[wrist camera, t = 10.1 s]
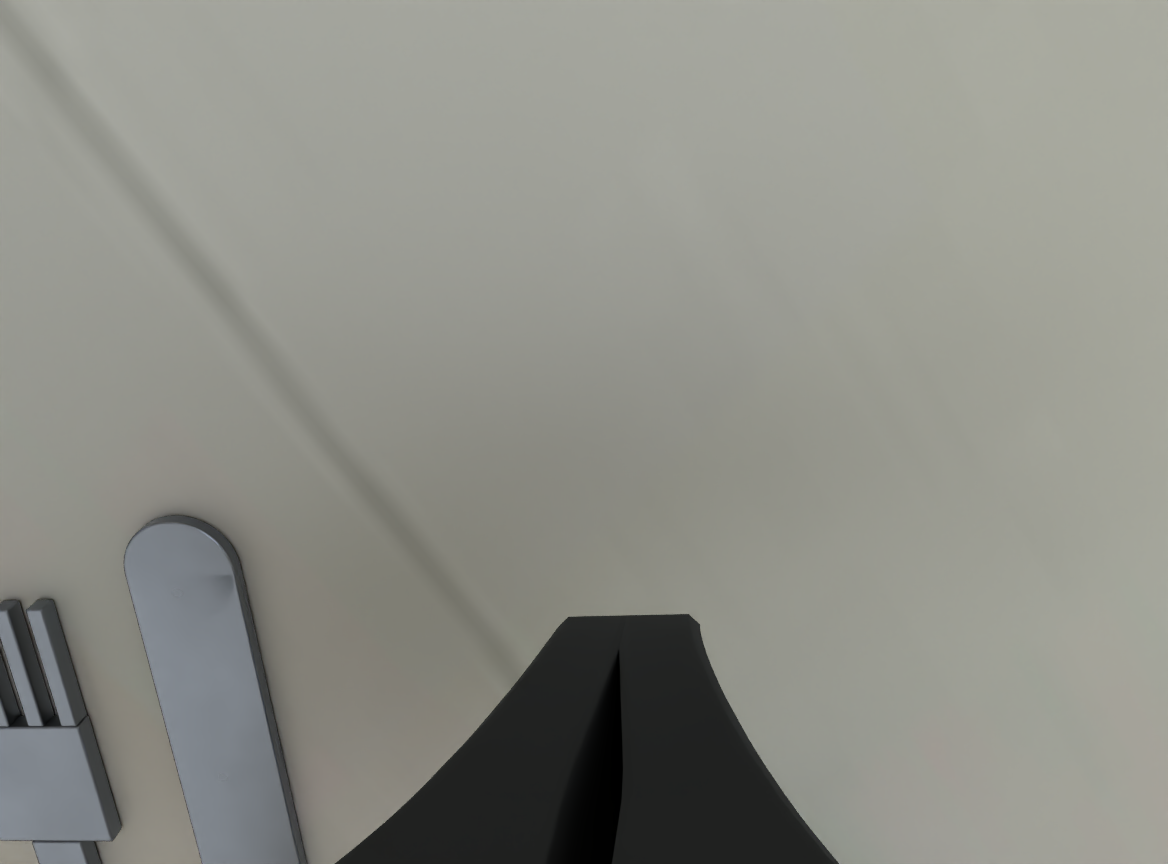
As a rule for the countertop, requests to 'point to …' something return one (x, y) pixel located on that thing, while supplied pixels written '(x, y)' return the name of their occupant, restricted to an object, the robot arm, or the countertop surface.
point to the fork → (48, 746)
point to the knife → (212, 692)
